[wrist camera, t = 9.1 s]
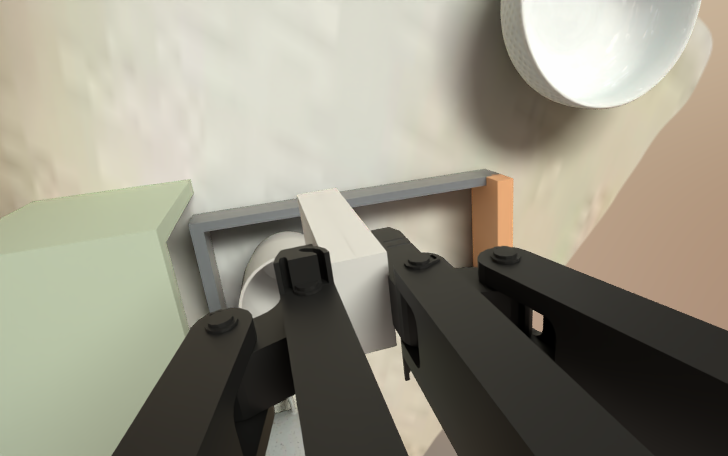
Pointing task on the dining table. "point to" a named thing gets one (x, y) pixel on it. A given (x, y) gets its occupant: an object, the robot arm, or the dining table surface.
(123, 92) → the dining table surface
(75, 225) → the toy stool
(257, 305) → the cup
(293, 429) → the ceramic mug
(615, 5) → the cereal bowl
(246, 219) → the drawer
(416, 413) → the dining table surface
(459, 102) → the dining table surface
